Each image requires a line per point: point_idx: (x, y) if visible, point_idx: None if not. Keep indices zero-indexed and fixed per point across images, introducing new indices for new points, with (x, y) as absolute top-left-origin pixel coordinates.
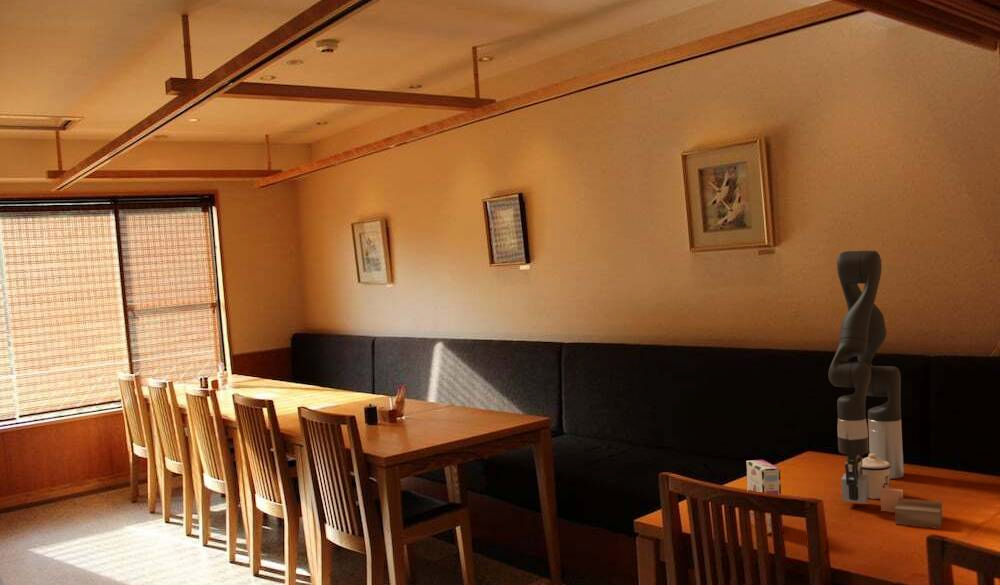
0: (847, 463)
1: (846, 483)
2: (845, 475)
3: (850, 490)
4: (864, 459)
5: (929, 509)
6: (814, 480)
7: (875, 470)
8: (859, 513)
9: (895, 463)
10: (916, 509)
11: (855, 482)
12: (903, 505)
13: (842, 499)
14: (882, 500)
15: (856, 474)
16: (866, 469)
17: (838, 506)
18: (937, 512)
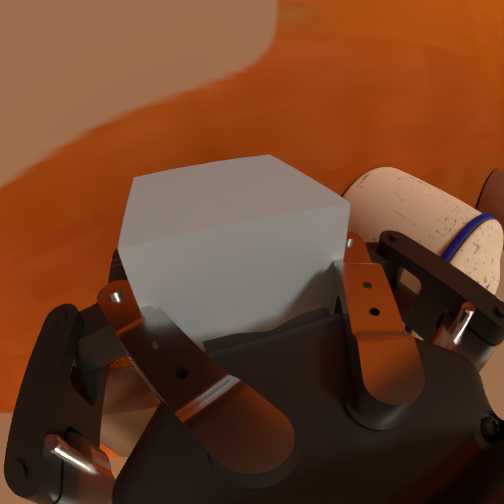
0: (204, 452)
1: (54, 315)
2: (278, 234)
3: (110, 279)
4: (486, 281)
5: (129, 449)
6: (462, 30)
7: (404, 324)
8: (96, 264)
9: None
10: (106, 440)
11: (74, 378)
12: (117, 423)
13: (134, 181)
14: None
15: (160, 400)
16: (418, 293)
17: (156, 138)
18: (120, 455)
